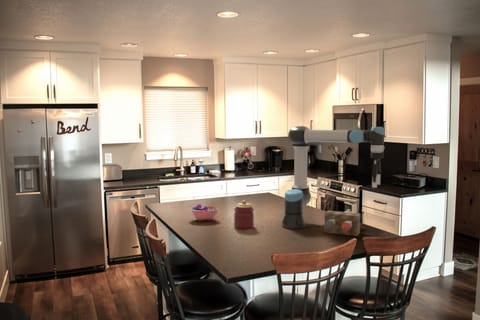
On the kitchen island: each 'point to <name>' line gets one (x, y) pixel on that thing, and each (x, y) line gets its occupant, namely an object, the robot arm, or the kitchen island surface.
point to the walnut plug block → (340, 219)
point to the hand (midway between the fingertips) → (376, 185)
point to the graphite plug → (330, 223)
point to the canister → (244, 216)
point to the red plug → (347, 225)
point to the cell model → (204, 212)
